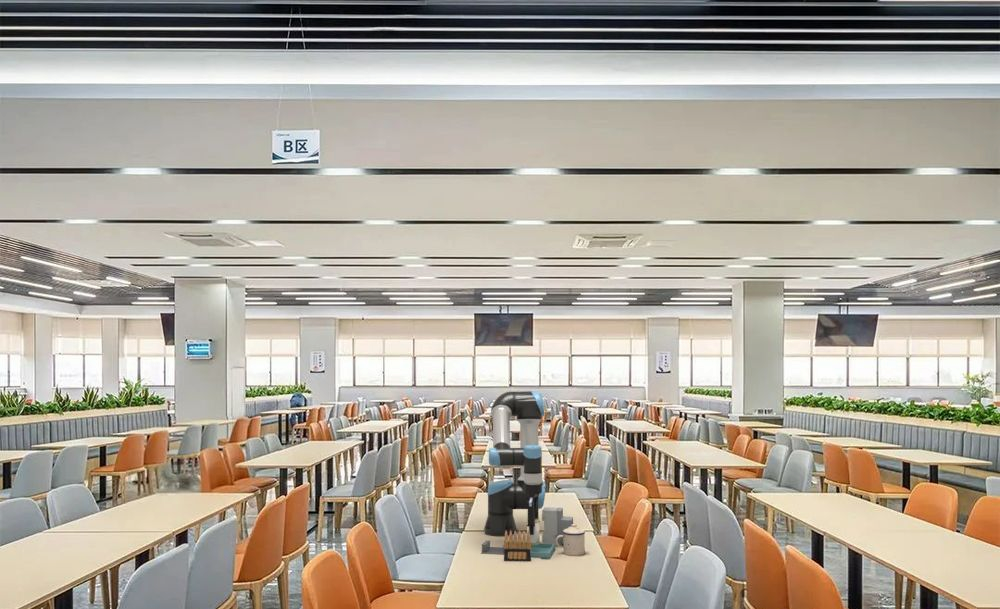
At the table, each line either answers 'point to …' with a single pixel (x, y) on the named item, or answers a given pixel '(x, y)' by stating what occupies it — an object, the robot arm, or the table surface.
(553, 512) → the circuit breaker
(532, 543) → the cylinder
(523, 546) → the ammunition clip
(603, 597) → the table surface
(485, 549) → the grey square holder base
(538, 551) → the parts tray
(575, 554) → the teacup with lid
